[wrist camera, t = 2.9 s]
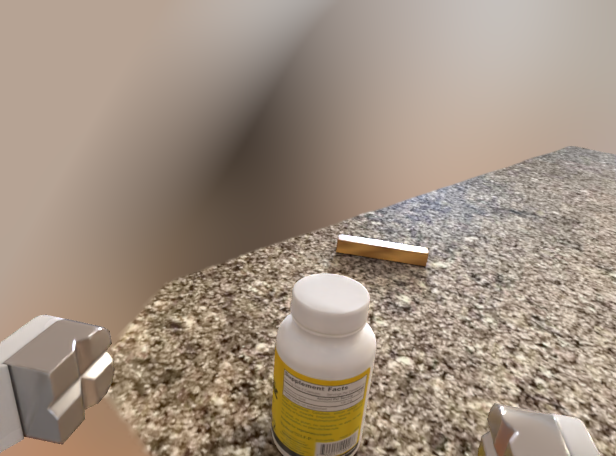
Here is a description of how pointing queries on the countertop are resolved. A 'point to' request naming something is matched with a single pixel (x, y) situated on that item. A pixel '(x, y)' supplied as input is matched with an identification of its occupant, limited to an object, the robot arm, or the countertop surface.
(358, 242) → the wooden bar
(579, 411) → the countertop surface
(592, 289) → the countertop surface
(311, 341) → the supplement bottle
